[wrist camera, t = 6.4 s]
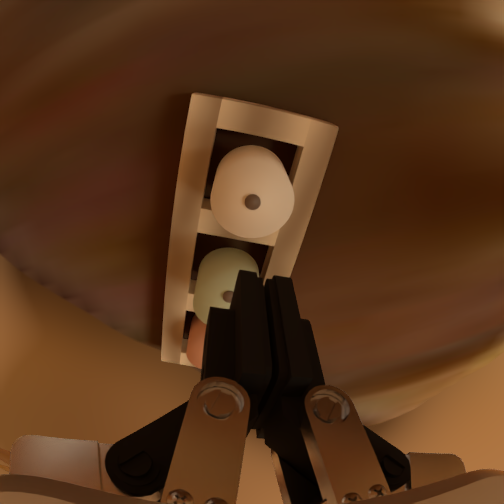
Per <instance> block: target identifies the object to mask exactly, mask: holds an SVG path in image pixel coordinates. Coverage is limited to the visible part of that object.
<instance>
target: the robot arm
mask: <svg viewBox="0 0 504 504" xmlns="http://www.w3.org/2000/svg"><path fill="white" fill-rule="evenodd" d="M250 429H256V433H257V438H264V439H265V444H266V445H267V446H268V447H269V448H271V457H272V461H273V465H274V469H275V473H276V477H277V481H278V485H279V488H280V492H281V496H282V500H283V503H284V504H504V471H501V470H495V469H482V470H476V471H471V472H468V473H466V471H465V466H464V463H463V462H462V460H461V459H460V458H459V457H457V456H456V455H453V454H436V453H414V452H409V453H408V454H403V453H402V452H401V451H400V450H399V449H397V448H396V447H394V446H393V445H391V444H390V443H388V442H387V441H386V440H384V439H383V438H381V437H380V436H378V435H377V434H375V433H374V432H373V431H371V430H370V429H368V428H367V427H366V426H364V425H363V424H362V422H361V420H360V417H359V415H358V413H357V410H356V408H355V406H354V404H353V402H352V400H351V398H350V397H349V396H348V395H347V394H346V393H345V392H344V391H342V390H341V389H339V388H337V387H334V386H330V385H325V382H324V377H323V373H322V369H321V365H320V360H319V356H318V352H317V348H316V344H315V340H314V336H313V332H312V327H311V324H310V321H309V320H306V319H301V318H300V314H299V309H298V305H297V300H296V296H295V292H294V287H293V283H292V279H291V278H290V277H283V276H277V275H274V276H273V277H272V279H268V278H267V279H266V281H265V284H264V285H263V278H261V277H257V272H252V271H246V270H239V272H238V276H237V280H236V284H235V288H234V292H233V296H232V300H231V304H230V308H229V309H224V308H218V307H211V306H210V309H209V314H208V319H207V325H206V331H205V338H204V347H203V357H202V369H201V381H200V382H199V383H198V384H197V385H195V386H194V388H193V390H192V392H191V395H190V399H189V400H188V401H187V402H185V403H184V404H182V405H180V406H179V407H177V408H175V409H174V410H172V411H170V412H169V413H167V414H165V415H164V416H162V417H160V418H159V419H157V420H155V421H154V422H152V423H150V424H148V425H146V426H145V427H143V428H141V429H139V430H138V431H136V432H134V433H132V434H130V435H129V436H127V437H125V438H123V439H121V440H120V441H118V442H116V443H115V444H98V441H86V440H71V439H60V438H52V437H43V436H36V435H25V436H22V437H20V438H18V439H17V440H16V441H15V442H14V444H13V445H12V449H11V452H10V471H9V474H8V475H5V474H3V475H0V504H236V500H237V494H238V487H239V481H240V474H241V468H242V461H243V454H244V447H245V440H246V437H247V435H248V433H249V432H250Z"/></svg>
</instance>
